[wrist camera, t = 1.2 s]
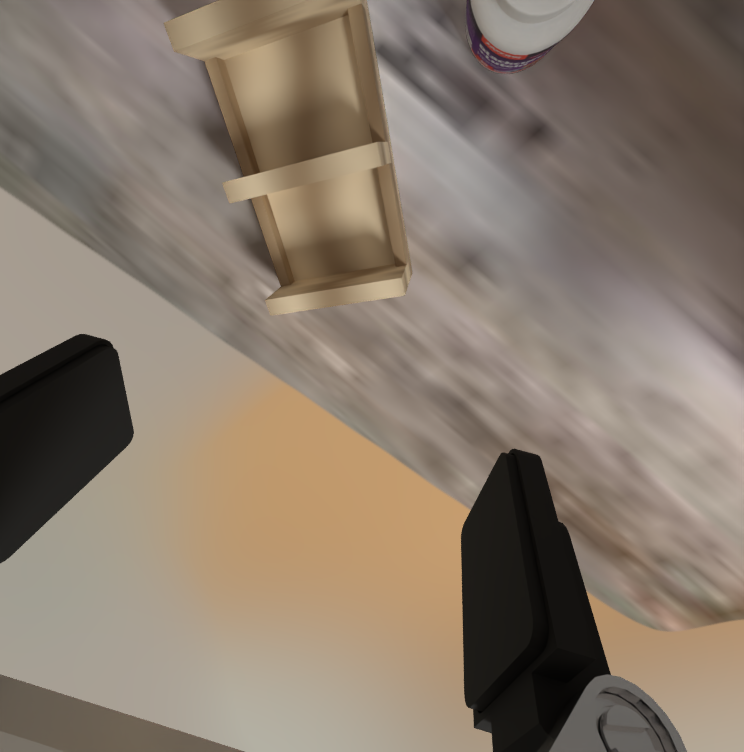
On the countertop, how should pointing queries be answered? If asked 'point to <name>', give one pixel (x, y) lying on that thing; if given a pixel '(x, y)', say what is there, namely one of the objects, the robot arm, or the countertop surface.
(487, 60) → the pill bottle
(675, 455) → the countertop surface
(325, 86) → the rack
